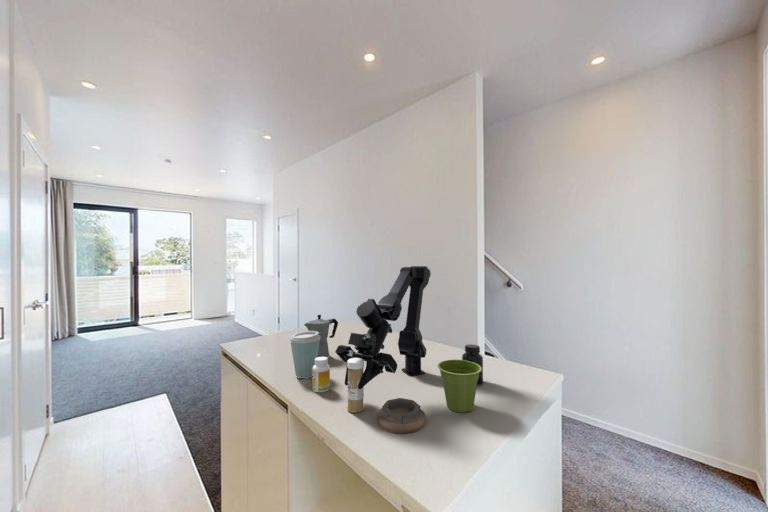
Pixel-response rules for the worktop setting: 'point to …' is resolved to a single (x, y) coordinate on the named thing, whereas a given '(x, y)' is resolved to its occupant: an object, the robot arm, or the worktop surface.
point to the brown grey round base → (401, 416)
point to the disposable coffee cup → (305, 352)
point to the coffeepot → (322, 333)
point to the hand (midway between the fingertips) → (352, 386)
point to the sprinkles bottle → (355, 385)
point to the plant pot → (459, 383)
